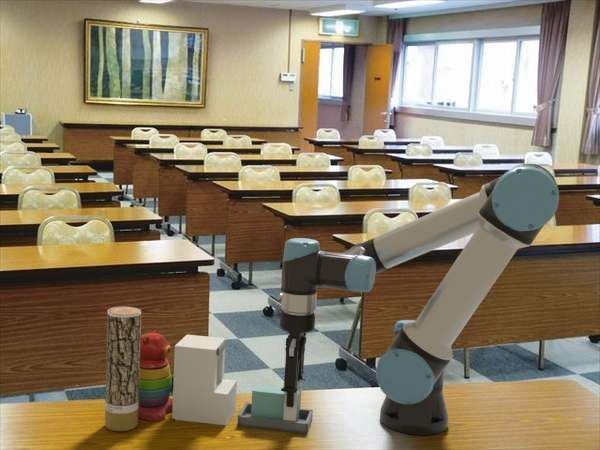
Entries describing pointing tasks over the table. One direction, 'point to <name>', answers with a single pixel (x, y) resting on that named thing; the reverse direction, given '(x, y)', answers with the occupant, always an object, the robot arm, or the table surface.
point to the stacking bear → (154, 378)
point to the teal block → (270, 402)
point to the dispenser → (202, 381)
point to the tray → (275, 421)
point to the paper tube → (122, 368)
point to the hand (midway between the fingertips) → (291, 414)
